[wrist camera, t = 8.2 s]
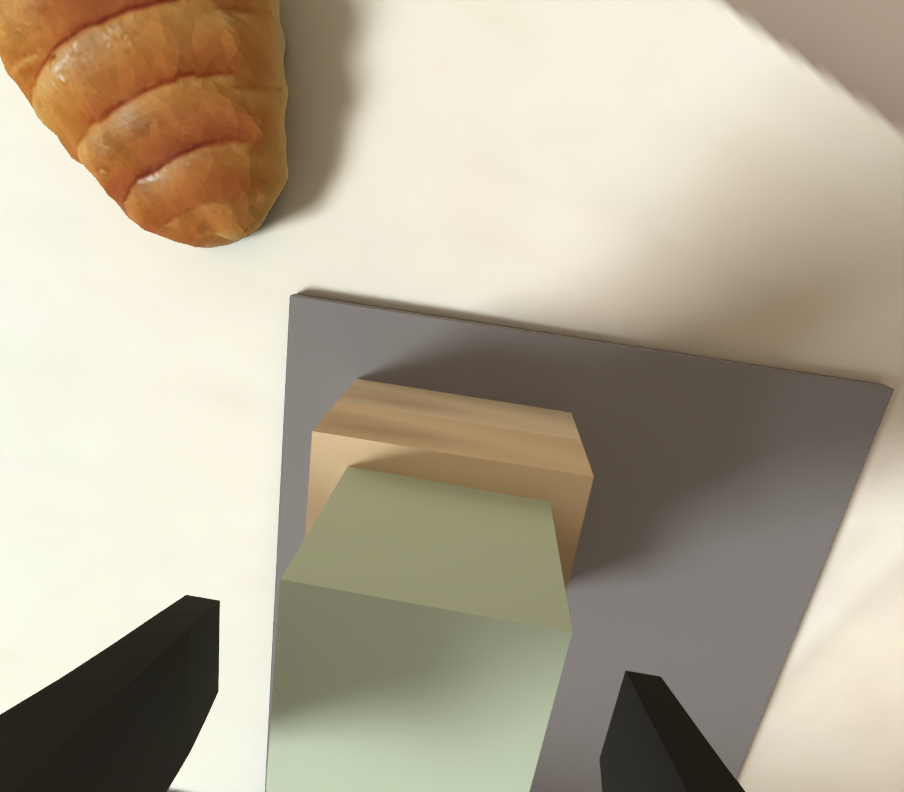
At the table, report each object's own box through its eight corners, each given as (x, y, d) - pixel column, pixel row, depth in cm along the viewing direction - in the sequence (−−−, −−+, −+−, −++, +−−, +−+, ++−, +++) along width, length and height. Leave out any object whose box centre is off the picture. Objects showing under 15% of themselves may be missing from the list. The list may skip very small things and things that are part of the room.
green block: (511, 664, 14) (516, 839, 10) (330, 631, 14) (265, 791, 10) (550, 502, 12) (572, 633, 8) (347, 466, 12) (279, 579, 9)
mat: (684, 888, 22) (687, 900, 21) (267, 811, 22) (263, 822, 22) (884, 384, 15) (893, 389, 15) (295, 293, 16) (290, 296, 15)
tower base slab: (531, 594, 18) (535, 640, 16) (340, 561, 18) (321, 603, 16) (571, 412, 16) (581, 440, 14) (356, 378, 16) (337, 401, 14)
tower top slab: (535, 640, 16) (540, 698, 14) (321, 603, 16) (296, 656, 14) (581, 440, 14) (594, 476, 12) (337, 401, 14) (311, 430, 12)
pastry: (364, 202, 15) (321, 200, 12) (144, 276, 16) (42, 296, 13) (221, -230, 13) (107, -405, 9) (-29, -106, 14) (-218, -218, 10)
